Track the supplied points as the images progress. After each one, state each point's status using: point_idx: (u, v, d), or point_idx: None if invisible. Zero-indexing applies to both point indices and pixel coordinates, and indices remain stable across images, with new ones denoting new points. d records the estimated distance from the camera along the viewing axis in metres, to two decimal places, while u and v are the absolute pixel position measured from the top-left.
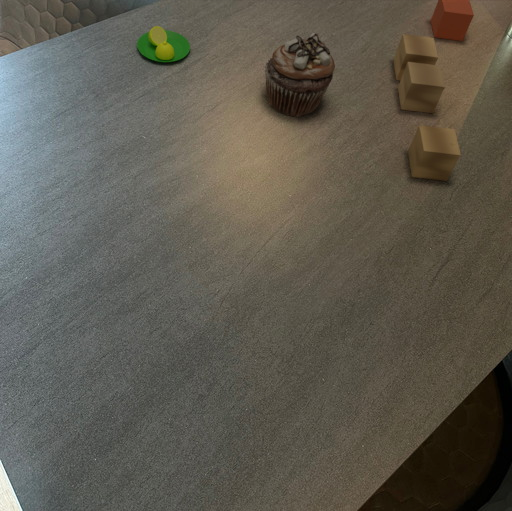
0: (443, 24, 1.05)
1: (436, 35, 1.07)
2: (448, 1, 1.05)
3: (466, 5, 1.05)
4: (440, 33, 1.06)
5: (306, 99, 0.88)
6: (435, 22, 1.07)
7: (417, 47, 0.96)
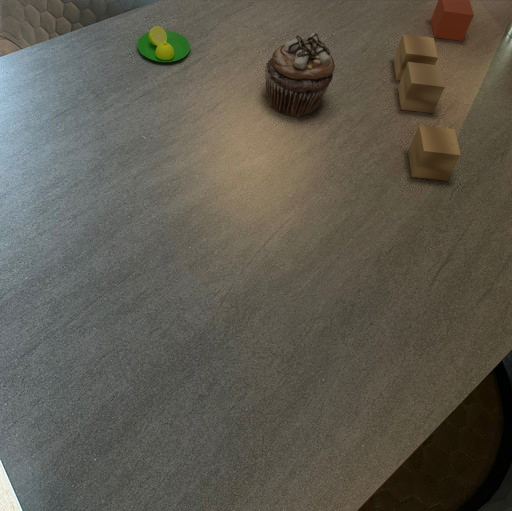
0: (443, 24, 1.05)
1: (436, 35, 1.07)
2: (448, 1, 1.05)
3: (466, 5, 1.05)
4: (440, 33, 1.06)
5: (306, 99, 0.88)
6: (435, 22, 1.07)
7: (417, 47, 0.96)
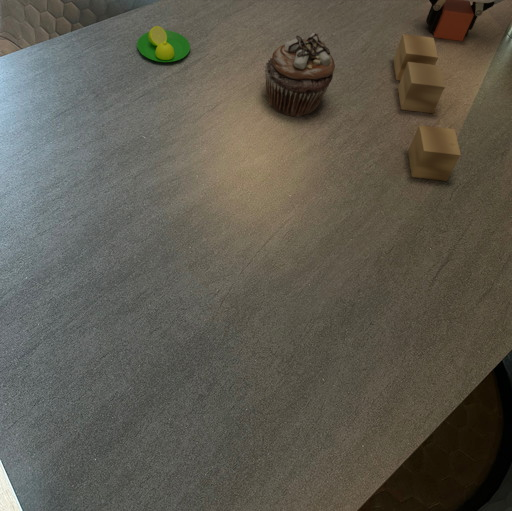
0: (443, 24, 1.05)
1: (436, 35, 1.07)
2: (448, 1, 1.05)
3: (466, 5, 1.05)
4: (440, 33, 1.06)
5: (306, 99, 0.88)
6: None
7: (417, 47, 0.96)
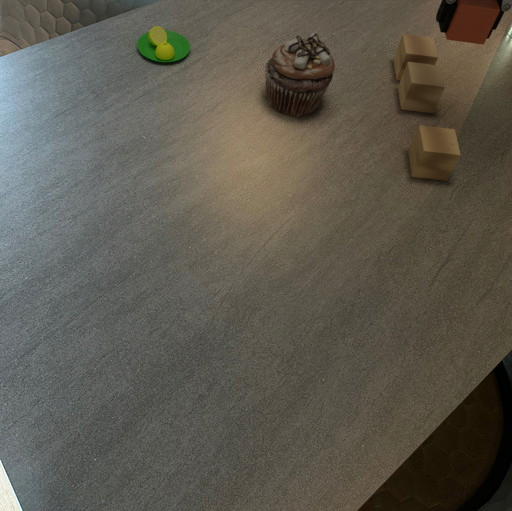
0: (459, 22, 0.78)
1: (449, 37, 0.80)
2: None
3: None
4: (454, 34, 0.80)
5: (306, 99, 0.88)
6: None
7: (417, 47, 0.96)
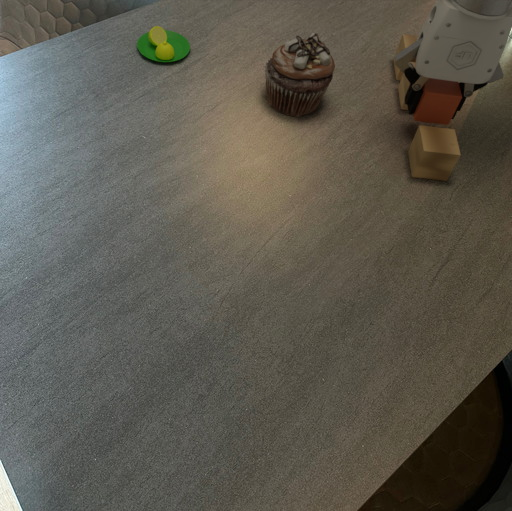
0: (425, 106, 0.85)
1: (416, 118, 0.87)
2: (430, 79, 0.85)
3: (453, 83, 0.85)
4: (420, 116, 0.86)
5: (306, 99, 0.88)
6: None
7: None
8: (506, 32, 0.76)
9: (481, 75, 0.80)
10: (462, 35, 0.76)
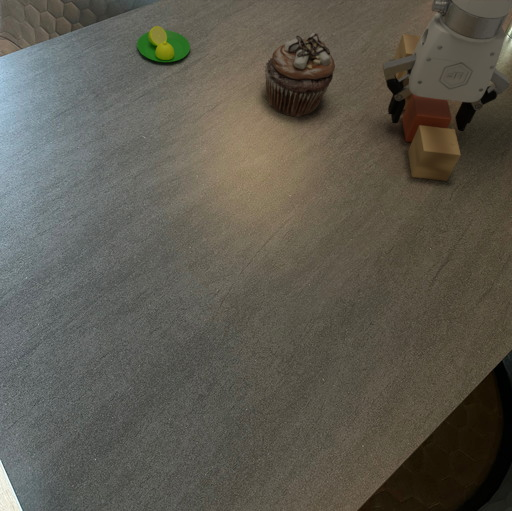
0: (416, 128, 0.88)
1: (408, 139, 0.90)
2: (421, 101, 0.88)
3: (443, 106, 0.88)
4: (412, 137, 0.90)
5: (306, 99, 0.88)
6: (407, 124, 0.90)
7: None
8: (496, 53, 0.78)
9: (473, 94, 0.83)
10: (454, 57, 0.78)
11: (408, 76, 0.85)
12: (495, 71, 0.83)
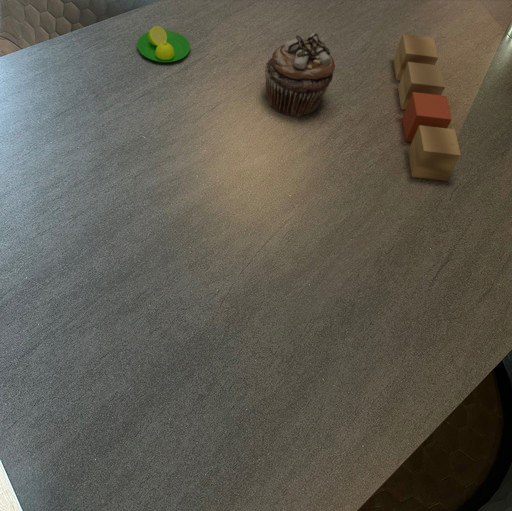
0: (416, 128, 0.88)
1: (408, 139, 0.90)
2: (421, 101, 0.88)
3: (443, 106, 0.88)
4: (412, 137, 0.90)
5: (306, 99, 0.88)
6: (407, 124, 0.90)
7: (417, 47, 0.96)
8: None
9: None
10: None
11: None
12: None
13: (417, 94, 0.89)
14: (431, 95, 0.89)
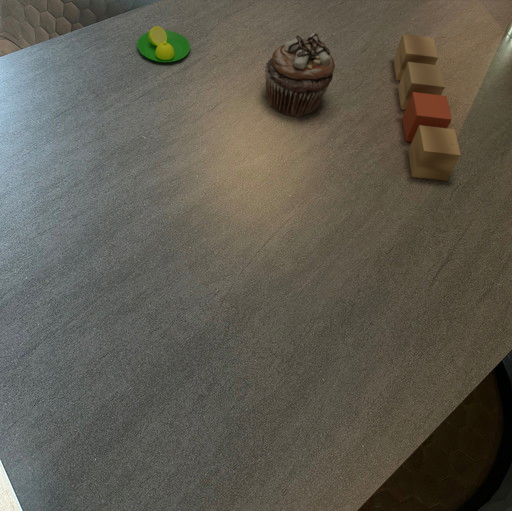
0: (416, 128, 0.88)
1: (408, 139, 0.90)
2: (421, 101, 0.88)
3: (443, 106, 0.88)
4: (412, 137, 0.90)
5: (306, 99, 0.88)
6: (407, 124, 0.90)
7: (417, 47, 0.96)
8: None
9: None
10: None
11: None
12: None
13: (417, 94, 0.89)
14: (431, 95, 0.89)
